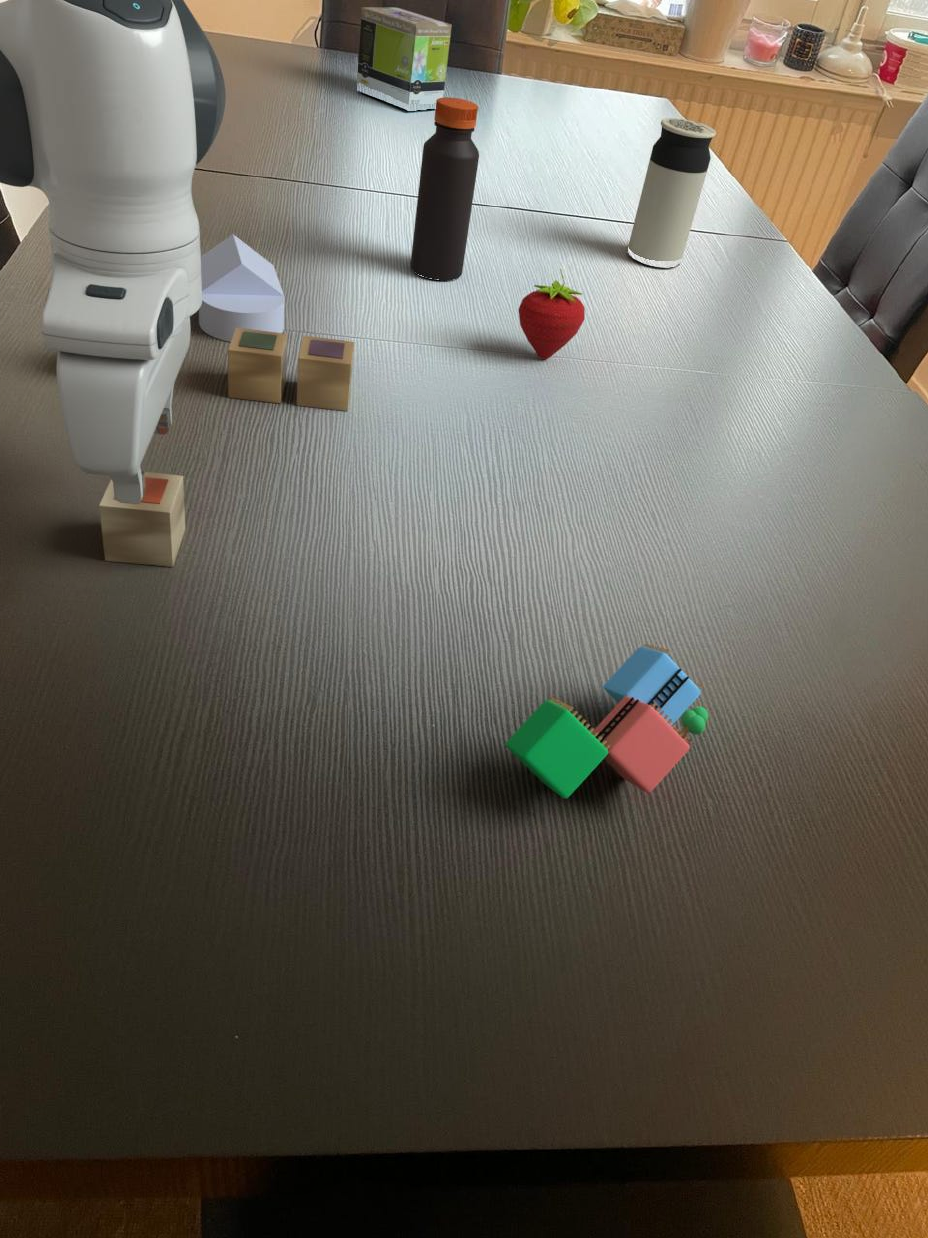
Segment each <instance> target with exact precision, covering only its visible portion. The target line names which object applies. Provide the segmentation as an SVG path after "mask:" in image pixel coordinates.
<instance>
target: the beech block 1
mask: <svg viewBox="0 0 928 1238" xmlns="http://www.w3.org/2000/svg"><path fill="white" fill-rule="evenodd" d="M287 359H288V333H285V332H283V333H277V332H269V331H261V330H253V329H244V328H235V331H234V334H233V336H232V339H231V342H229V344H228V348H227V397H228V398H229V399H238V400H247V401H248V400H249V401H256V402H262V403H263V402H265V403H273V404H281V402H282V398H283V394H284V391H285V387H286V381H287V365H288V364H287V363H288V360H287Z"/></svg>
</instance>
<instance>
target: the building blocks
mask: <svg viewBox="0 0 928 1238" xmlns="http://www.w3.org/2000/svg"><path fill="white" fill-rule="evenodd" d="M670 652H671V650H670V649H667V648H664V647H663V648H662V647H659V646H656V645H653V644H649V643H648V644H647V643H644V644H643V645H642V646H639V647H637V649H636V650H634V651H633V653H632V654H631V655H630V656H629V657H628V658H627V659H626V661H624V663H623V664H622V665H621V666H620V667H619V668H618V669H617V670H616V671H615V673H614V674H613V675H612V676H611V677H610V678H609V679H608V680H607V681H606V682H605V683H604V685H603V689H604V691H605V692H606V693H607V694H608V695H609V696H610V697H611V698H612V699H613V700H614V701H615V702H616V703H617V704H616V705H615V706H614V708H613V709H612V710H611V711H610V712H609V713H608V714H607V715H606V716H605V717H604V719H602V721H601V722H599V724H598V725H597V726H596V727H595V728H594V727H590V726H591V724H590V723H586V722H587V720H586V719H585V718H583V719H582V717H583V716H582V715H581V714H578V711H577V710H574V707H573V706H572V705H570V704H567V703H565V702H563V701H562V700H560V699H557V698H555V697H554V696H551V697H549V699H545V700H544V701H543V702H542V703H541V704H540V705H539V706H538V707H537V708H536V710H534V711H533V713H531V715H530V716H529V717H528V718H527V719H526V720H525V721H524V723H522V724H521V725H520V727H518V729H517V730H516V731H515V732H514V733H513V734H512V735H511V736H510V737H509V738H508V740H507V741H506V742H505V746H506V748H507V749H508V750H509V752H511V753H512V754H513V755H514V756H515V757H516V758H517V759H518V760H519V761H520V762H521V763H522V764H523V765H524V766H525V767H526V768H528V770H529V771H530V772H531V773H532V774H533V775H534V776H535V777H537V778H538V779H539V780H540V781H541V783H543V784H544V785H545V786H546V787H547V788H549V789H550V790H552V791H553V792H554V793H555V794H557V795H558V796H559V797H561V799H564V800H566V799H569V797H571V795H572V794H573V793H574V792H575V791H576V790H577V789H578V788H579V786H581V784H582V783H583V782H585V780H586V779H587V778H588V777H589V776H590V775H591V774H592V772H593V771H594V770H595V769H596V768H597V767H598V766H599V765H600V764H601V762H602V761H603V760H604V761H605V762H606V763H607V764H608V765H610V767H612V769H613V770H614V771H615V772H616V773H617V774H619V776H620V777H621V778H623V780H625V781H627V782H628V783H630V784H631V785H633V786H635V787H636V788H638V789H639V790H641V791H642V792H644V793H646V794H650V793H651V792H652V791H654V789H655V788H656V787H657V786H658V785H659V784H660V783H661V782H662V780H663V779H664V778H665V777H666V776H667V775H668V774H669V773H670V771H672V770H673V768H674V767H675V766H676V765H677V764H678V763H679V762H680V761H681V759H682V758H683V757H684V756H685V755H686V754H687V753H688V751H689V750H690V749H691V746H690V744H691V743H692V742H693V740H692V739H689V736H688V733H690V734H692V735H696V736H697V735H700V734H702V733H703V732H704V731H706V723H707V722H708V720H709V713H708V710H707V709H706V708H705V707H702V706H695V707H693V708H692V709H689V707H691V706H692V704H693V703H694V702H695V701H696V700H697V698H699V696H700V695H701V693H702V691H701V690H702V689H703V688H704V686H703V684H699V683H696V682H693V680H692V679H690V677H689V676H688V675H687V674H686V673H685V672H684V671H683V670H682V668H680V667H679V666H678V664H677V663H676V662H675V661H674V660H673V659H672V658H671V657H670V656H669V655H668V654H669V653H670ZM573 710H574V711H573ZM572 711H573V712H572ZM576 715H577V717H576ZM679 718H680V722H681V725H682V727H683V728H682V730H681V727H679V726H677V724H676V722H677V721H678V720H679ZM580 719H582V720H581V721H580ZM585 723H586V724H585ZM584 724H585V725H584ZM676 726H677V727H676ZM675 727H676V729H674V728H675ZM588 728H590V729H588Z"/></svg>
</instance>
